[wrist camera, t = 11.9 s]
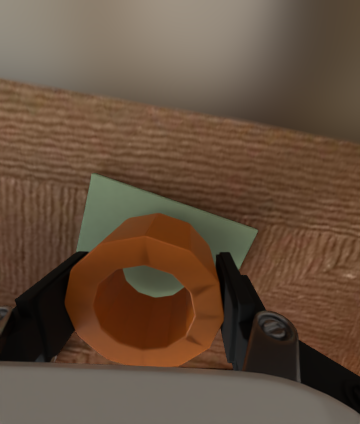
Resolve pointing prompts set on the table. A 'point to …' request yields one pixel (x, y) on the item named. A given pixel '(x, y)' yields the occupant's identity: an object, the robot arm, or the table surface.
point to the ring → (144, 304)
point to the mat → (149, 204)
